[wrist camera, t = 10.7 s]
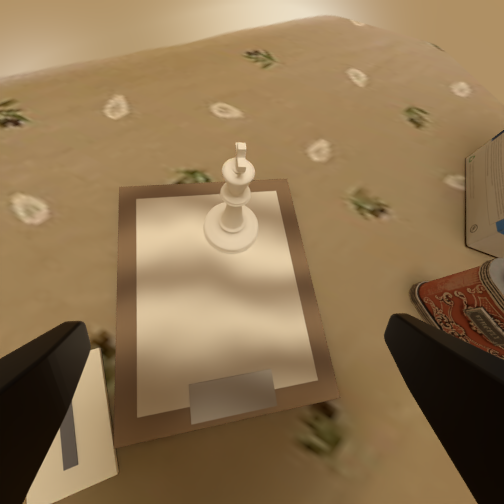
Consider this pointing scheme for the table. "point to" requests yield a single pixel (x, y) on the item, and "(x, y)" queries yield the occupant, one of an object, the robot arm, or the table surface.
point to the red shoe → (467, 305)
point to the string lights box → (486, 198)
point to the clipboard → (212, 315)
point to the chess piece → (233, 208)
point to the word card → (79, 441)
